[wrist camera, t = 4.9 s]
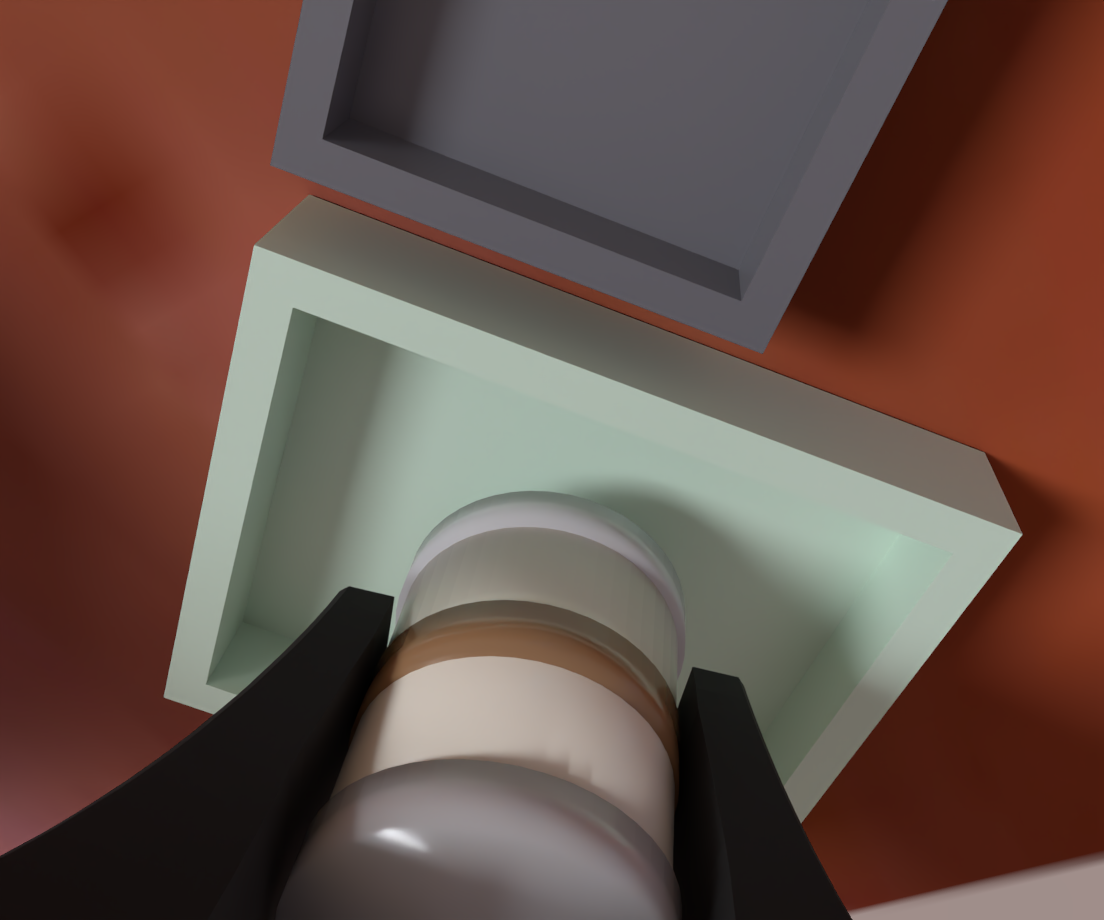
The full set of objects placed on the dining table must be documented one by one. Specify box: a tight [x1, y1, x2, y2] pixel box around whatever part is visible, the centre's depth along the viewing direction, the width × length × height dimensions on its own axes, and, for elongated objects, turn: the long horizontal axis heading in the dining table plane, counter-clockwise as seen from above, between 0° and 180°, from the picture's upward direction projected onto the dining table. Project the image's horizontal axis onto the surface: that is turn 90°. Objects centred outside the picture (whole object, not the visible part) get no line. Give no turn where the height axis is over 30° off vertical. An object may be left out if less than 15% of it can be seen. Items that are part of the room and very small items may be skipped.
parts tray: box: [164, 195, 1023, 823], centre depth 15 cm, size 10×8×2 cm
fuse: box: [275, 491, 686, 920], centre depth 12 cm, size 4×4×6 cm
